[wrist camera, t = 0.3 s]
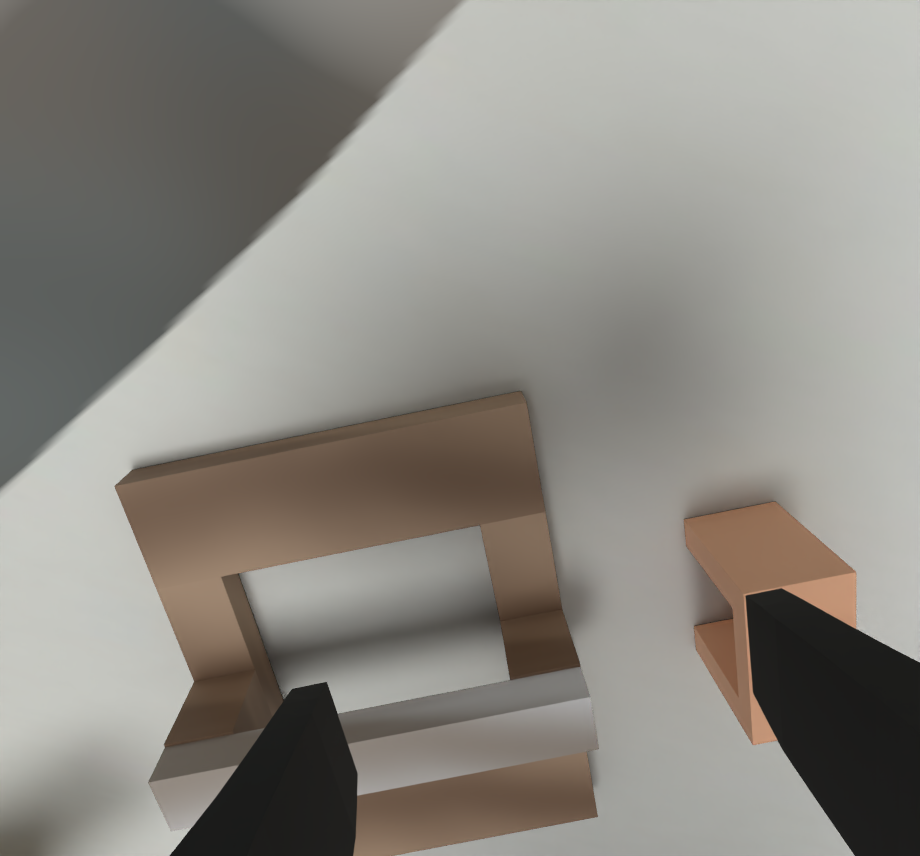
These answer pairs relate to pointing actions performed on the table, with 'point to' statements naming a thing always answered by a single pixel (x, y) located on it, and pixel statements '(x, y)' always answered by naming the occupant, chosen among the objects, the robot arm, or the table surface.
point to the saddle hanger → (760, 590)
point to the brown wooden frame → (355, 527)
